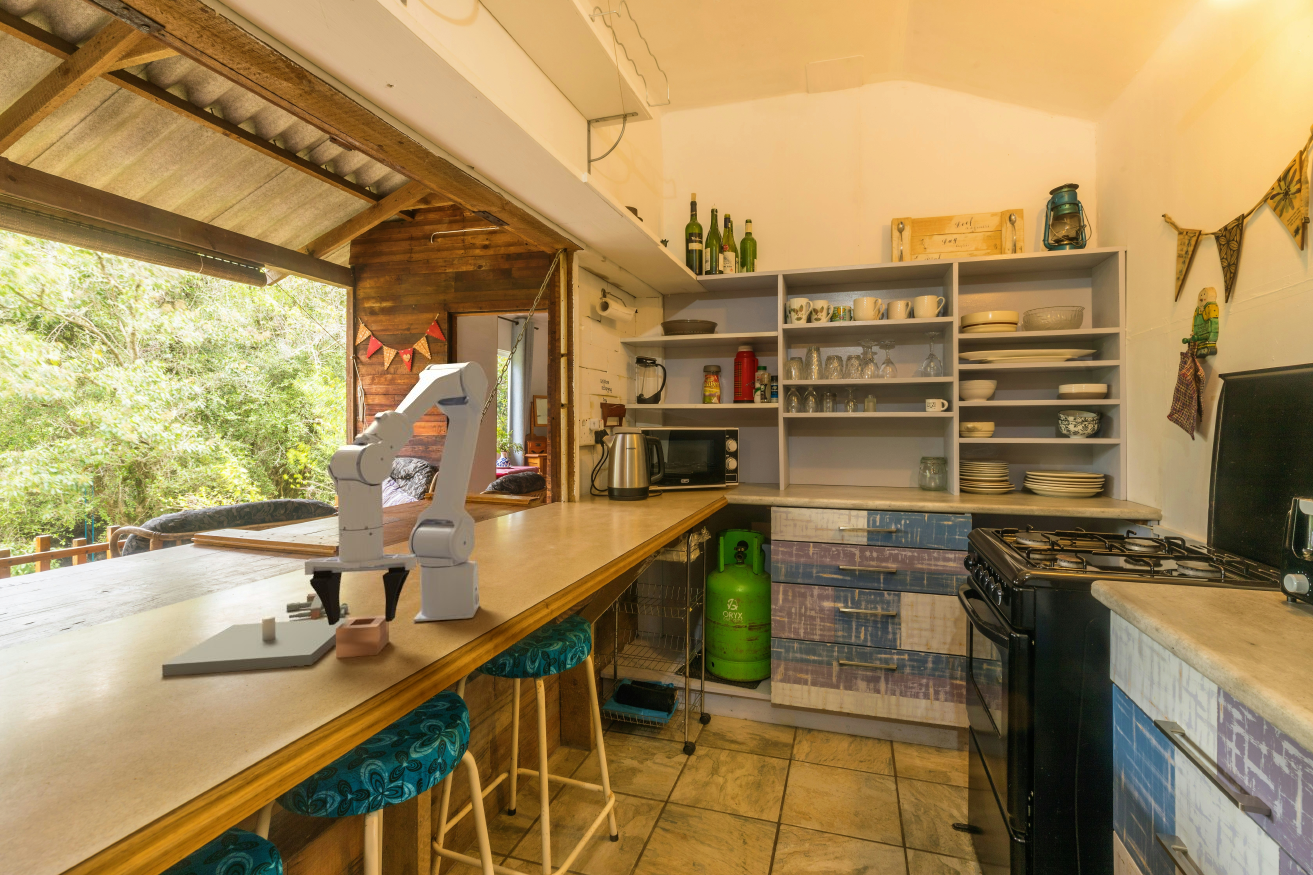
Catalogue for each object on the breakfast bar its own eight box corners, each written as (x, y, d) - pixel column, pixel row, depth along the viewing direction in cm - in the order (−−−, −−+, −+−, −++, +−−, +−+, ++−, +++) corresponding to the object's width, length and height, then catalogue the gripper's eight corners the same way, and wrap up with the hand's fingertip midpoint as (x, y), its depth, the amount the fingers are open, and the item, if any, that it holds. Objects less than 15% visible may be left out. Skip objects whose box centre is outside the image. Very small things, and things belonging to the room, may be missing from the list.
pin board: (354, 626, 93) (354, 598, 93) (311, 665, 78) (310, 632, 78) (233, 634, 91) (232, 605, 91) (162, 676, 75) (161, 641, 75)
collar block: (389, 641, 86) (388, 614, 86) (377, 654, 81) (376, 626, 81) (350, 643, 86) (350, 617, 86) (336, 657, 80) (335, 629, 80)
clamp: (290, 595, 107) (350, 588, 111) (290, 607, 107) (351, 599, 111) (276, 618, 93) (346, 609, 97) (276, 632, 93) (346, 622, 97)
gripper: (293, 533, 78) (295, 633, 78) (406, 529, 80) (407, 626, 80) (316, 526, 85) (317, 617, 85) (419, 522, 87) (420, 611, 87)
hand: (362, 621), depth 83 cm, fingers open, 7 cm apart
